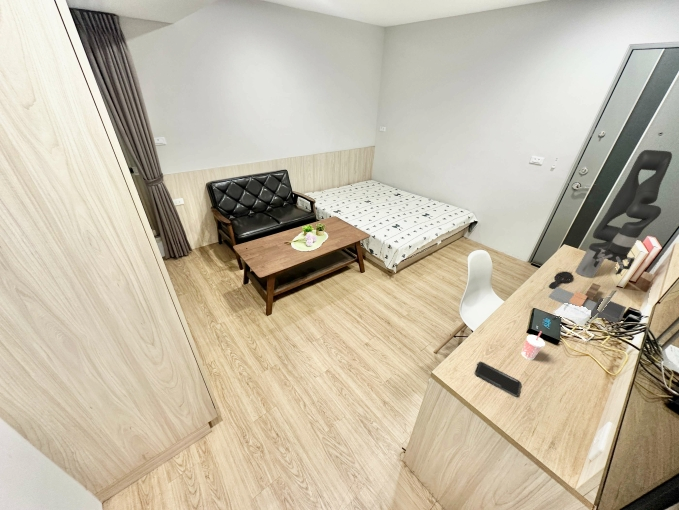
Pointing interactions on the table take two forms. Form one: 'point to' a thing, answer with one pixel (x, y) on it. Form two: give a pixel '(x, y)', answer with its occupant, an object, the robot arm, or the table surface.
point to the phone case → (580, 328)
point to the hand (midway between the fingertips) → (605, 270)
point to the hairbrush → (561, 275)
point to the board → (565, 297)
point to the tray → (609, 311)
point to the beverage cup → (532, 346)
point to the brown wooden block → (592, 291)
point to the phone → (498, 379)
